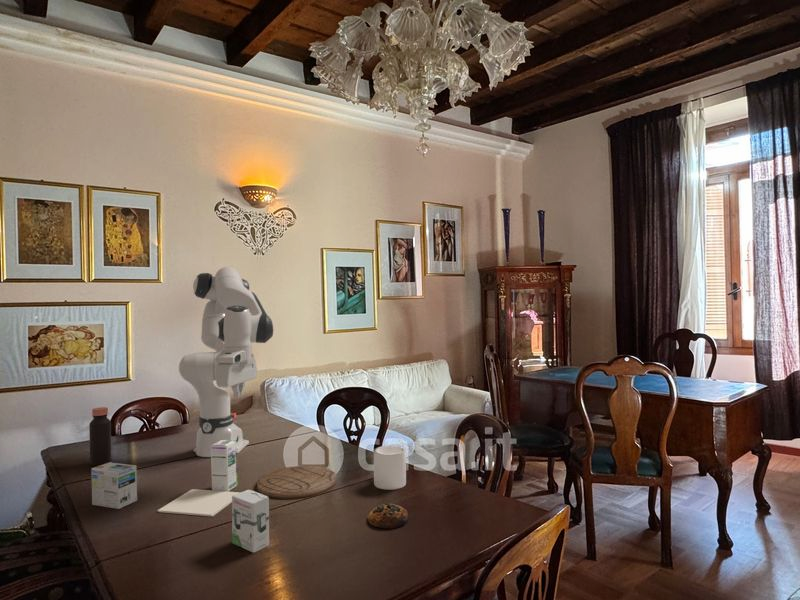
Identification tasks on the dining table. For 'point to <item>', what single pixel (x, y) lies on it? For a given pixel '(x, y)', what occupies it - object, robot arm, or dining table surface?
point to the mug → (389, 467)
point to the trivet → (296, 482)
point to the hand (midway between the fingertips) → (238, 396)
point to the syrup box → (224, 465)
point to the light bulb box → (114, 485)
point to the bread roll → (388, 516)
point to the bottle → (100, 437)
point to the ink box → (250, 520)
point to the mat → (199, 502)
